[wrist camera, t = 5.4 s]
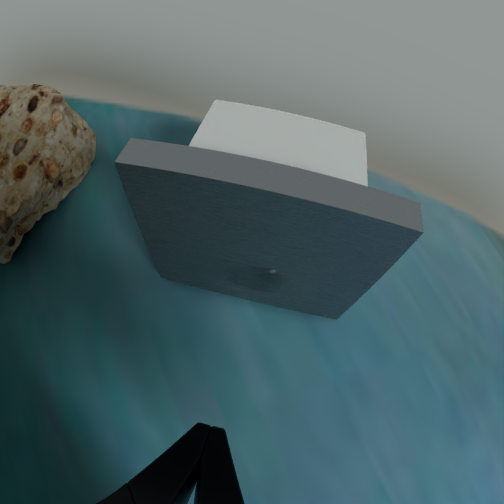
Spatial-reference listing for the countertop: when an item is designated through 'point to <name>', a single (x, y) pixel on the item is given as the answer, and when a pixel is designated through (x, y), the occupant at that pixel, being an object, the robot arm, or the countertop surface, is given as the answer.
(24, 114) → the rock
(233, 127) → the block
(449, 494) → the countertop surface
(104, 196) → the countertop surface
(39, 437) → the countertop surface
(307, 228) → the grey piece
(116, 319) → the countertop surface
